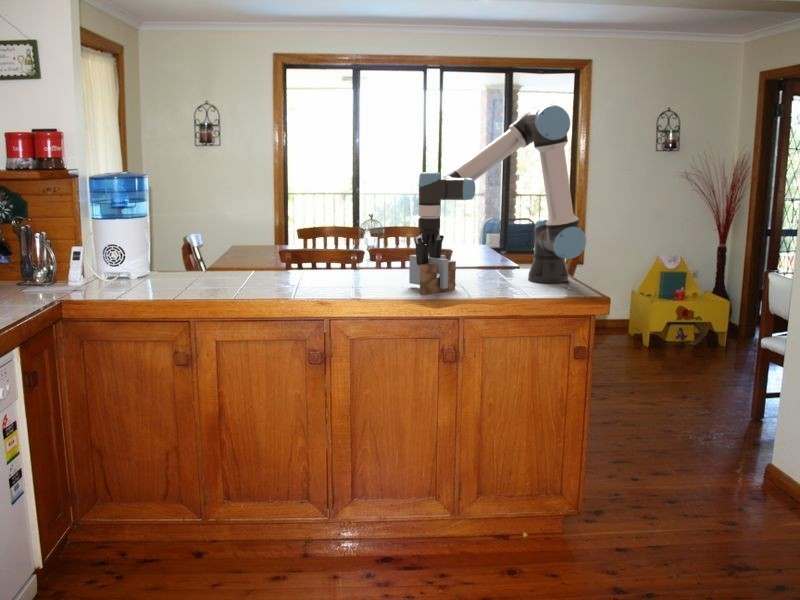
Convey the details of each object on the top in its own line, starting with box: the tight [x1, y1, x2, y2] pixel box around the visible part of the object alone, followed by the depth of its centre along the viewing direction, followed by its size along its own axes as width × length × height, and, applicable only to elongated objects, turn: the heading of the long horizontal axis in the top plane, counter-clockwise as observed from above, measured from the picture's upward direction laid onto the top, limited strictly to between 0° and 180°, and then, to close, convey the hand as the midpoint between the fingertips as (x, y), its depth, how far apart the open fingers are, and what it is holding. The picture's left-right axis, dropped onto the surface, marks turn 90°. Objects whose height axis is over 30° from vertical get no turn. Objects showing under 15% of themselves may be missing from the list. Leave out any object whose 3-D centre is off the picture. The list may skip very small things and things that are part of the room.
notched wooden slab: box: [419, 259, 457, 296], centre depth 263 cm, size 16×2×10 cm, turn 136°
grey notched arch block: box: [408, 254, 449, 289], centre depth 266 cm, size 16×2×10 cm, turn 46°
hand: (428, 284), depth 267 cm, fingers closed on grey notched arch block, 2 cm apart
